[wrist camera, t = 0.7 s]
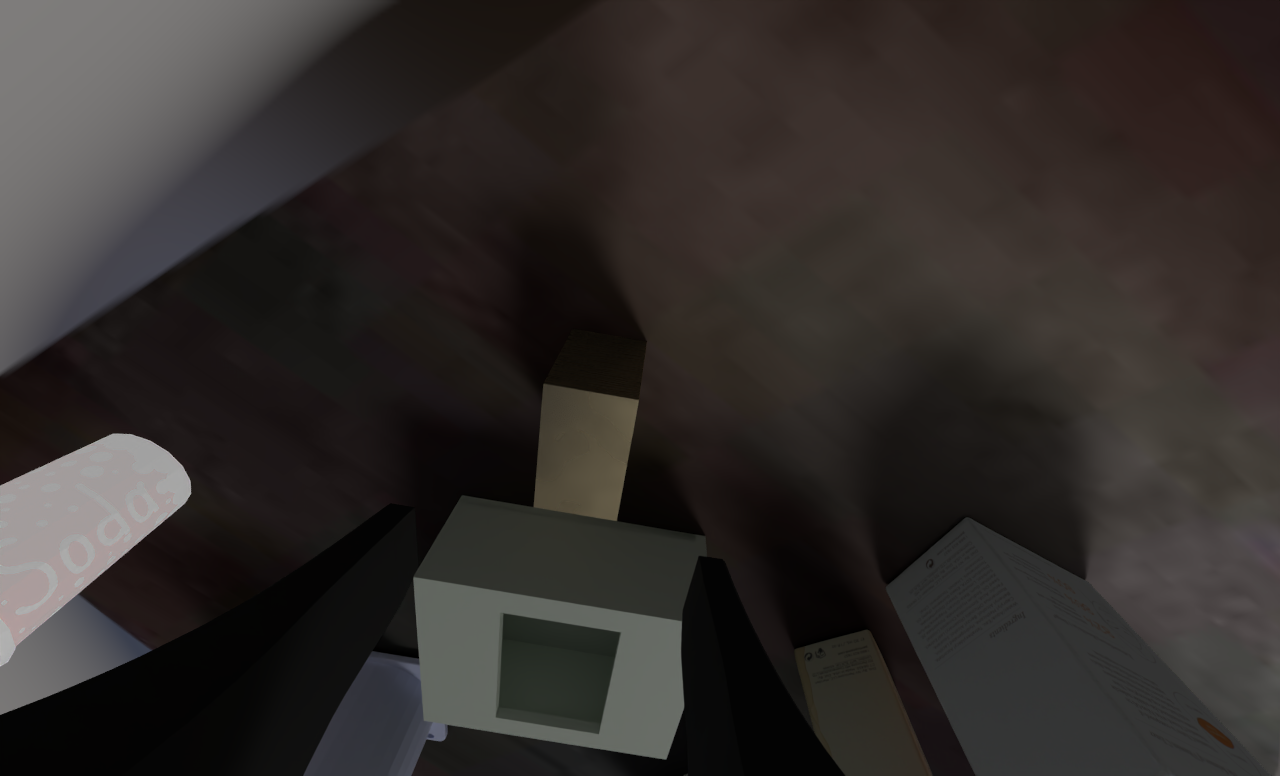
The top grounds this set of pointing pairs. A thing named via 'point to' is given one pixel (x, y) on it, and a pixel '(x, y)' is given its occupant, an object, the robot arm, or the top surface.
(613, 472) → the wooden rectangular block
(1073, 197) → the top surface
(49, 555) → the beverage cup
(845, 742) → the skincare box
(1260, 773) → the small box
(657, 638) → the slot box
